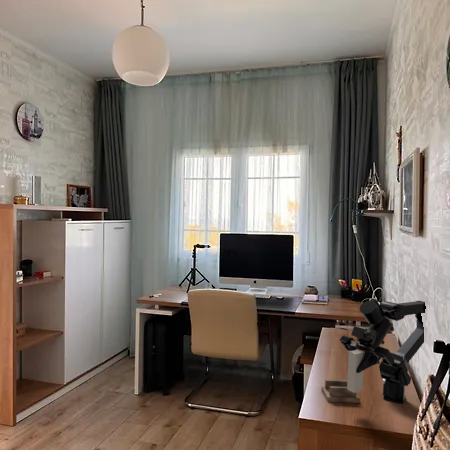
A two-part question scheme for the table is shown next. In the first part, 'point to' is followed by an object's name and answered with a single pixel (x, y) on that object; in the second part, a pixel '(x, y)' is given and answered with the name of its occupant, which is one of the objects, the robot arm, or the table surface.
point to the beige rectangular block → (353, 377)
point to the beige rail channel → (338, 392)
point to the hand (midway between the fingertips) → (352, 370)
